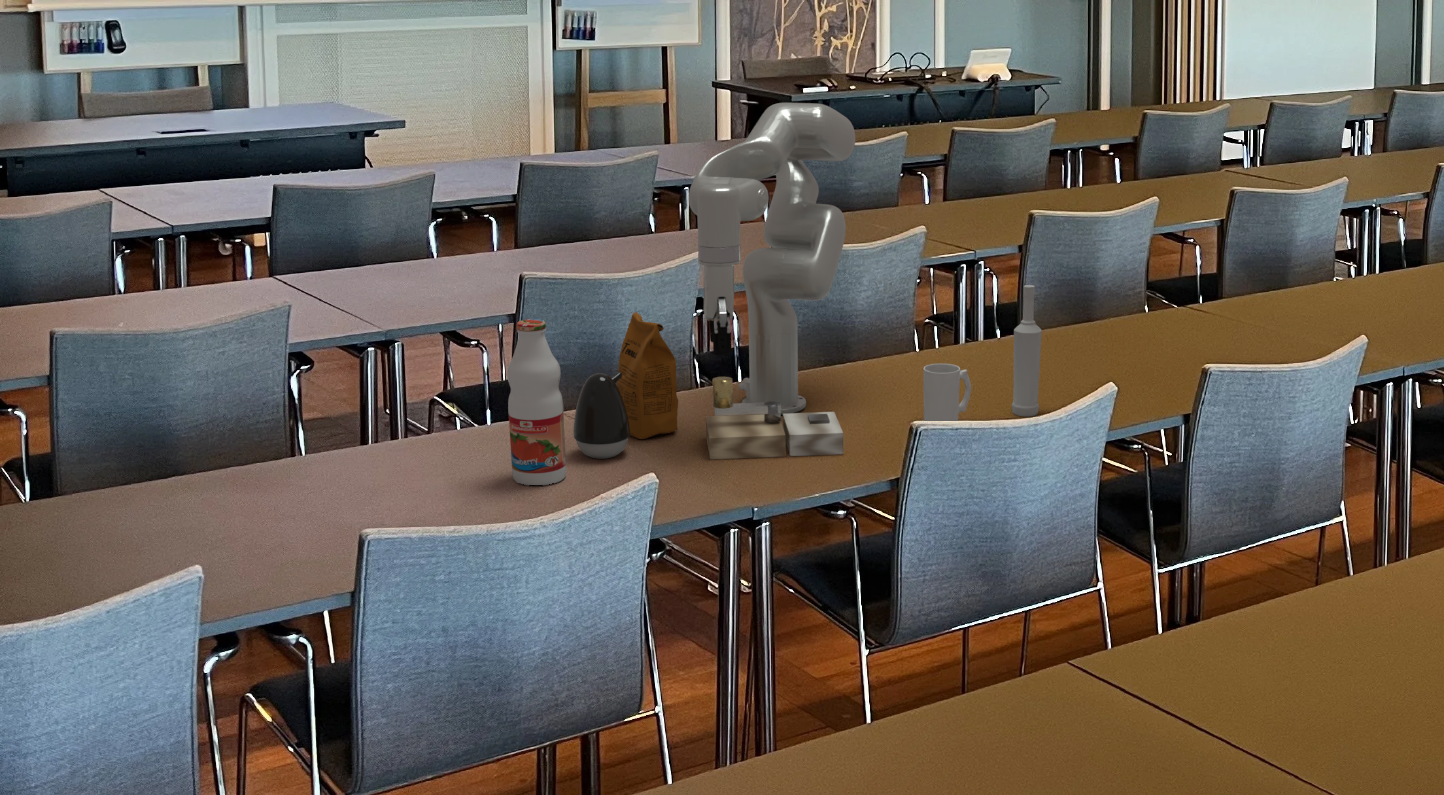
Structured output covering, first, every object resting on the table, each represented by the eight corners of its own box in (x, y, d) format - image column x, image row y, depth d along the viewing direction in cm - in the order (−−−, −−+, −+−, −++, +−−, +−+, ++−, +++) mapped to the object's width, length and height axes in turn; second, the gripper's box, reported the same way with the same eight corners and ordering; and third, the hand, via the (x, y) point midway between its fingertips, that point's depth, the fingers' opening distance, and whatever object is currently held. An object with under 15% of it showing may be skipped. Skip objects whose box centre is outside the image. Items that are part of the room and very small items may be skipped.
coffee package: (659, 417, 322) (655, 307, 316) (684, 435, 311) (681, 321, 305) (611, 425, 318) (606, 313, 312) (634, 443, 307) (630, 327, 301)
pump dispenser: (643, 452, 302) (640, 372, 297) (601, 467, 294) (597, 384, 290) (605, 441, 308) (601, 362, 304) (562, 455, 301) (558, 374, 297)
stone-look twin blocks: (709, 459, 297) (709, 434, 296) (706, 437, 310) (705, 413, 308) (843, 454, 298) (843, 429, 297) (834, 432, 311) (834, 408, 310)
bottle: (1042, 411, 321) (1047, 284, 314) (1032, 418, 317) (1036, 290, 309) (1017, 407, 323) (1021, 282, 316) (1007, 414, 319) (1011, 287, 312)
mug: (936, 437, 306) (937, 375, 303) (915, 428, 312) (916, 366, 309) (980, 428, 311) (981, 367, 308) (959, 419, 317) (960, 359, 313)
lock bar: (779, 417, 306) (779, 374, 304) (781, 423, 303) (781, 379, 300) (713, 419, 305) (712, 377, 303) (714, 425, 302) (713, 382, 300)
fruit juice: (576, 472, 292) (568, 317, 284) (551, 489, 284) (542, 330, 276) (528, 466, 295) (519, 313, 287) (502, 483, 287) (492, 326, 279)
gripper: (696, 246, 303) (697, 337, 307) (700, 264, 286) (702, 360, 291) (737, 245, 303) (738, 336, 308) (744, 263, 287) (745, 359, 291)
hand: (720, 348), depth 299 cm, fingers open, 9 cm apart
